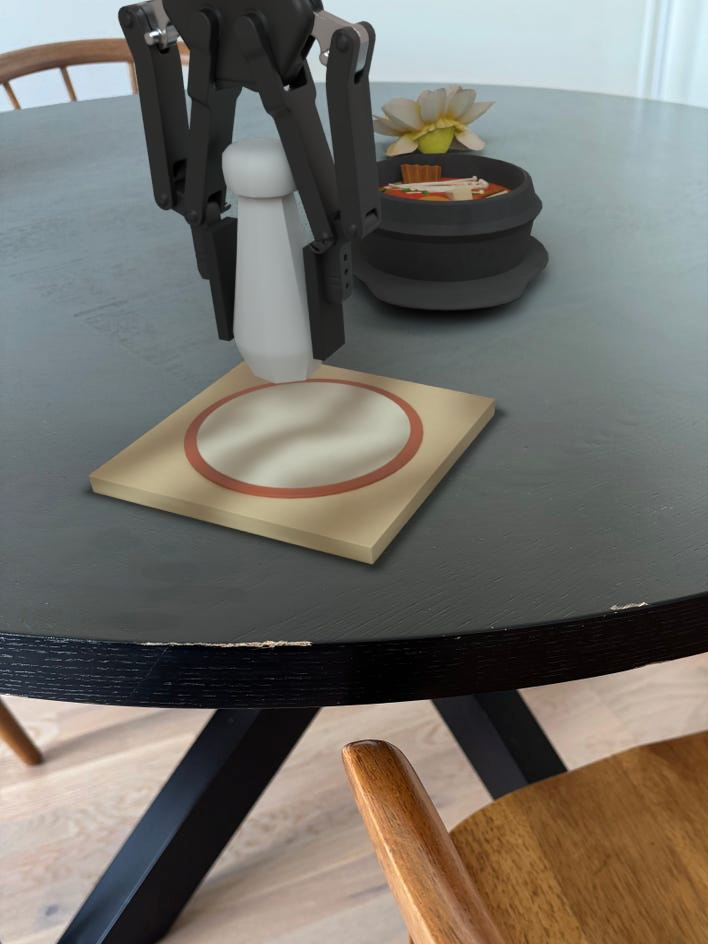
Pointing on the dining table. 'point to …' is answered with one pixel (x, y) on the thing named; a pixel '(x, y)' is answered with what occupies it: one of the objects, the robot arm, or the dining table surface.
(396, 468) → the board
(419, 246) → the casserole
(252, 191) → the salt shaker
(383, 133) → the decorative flower
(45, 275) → the dining table surface
